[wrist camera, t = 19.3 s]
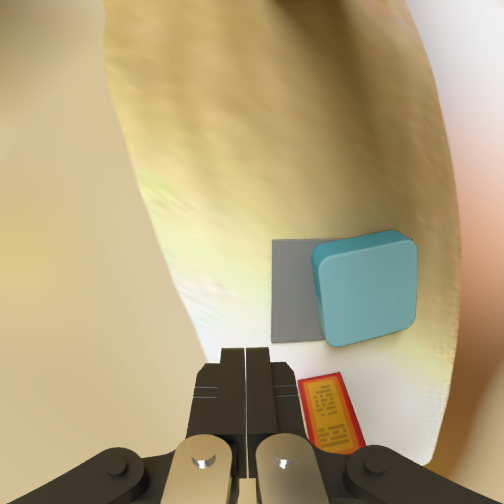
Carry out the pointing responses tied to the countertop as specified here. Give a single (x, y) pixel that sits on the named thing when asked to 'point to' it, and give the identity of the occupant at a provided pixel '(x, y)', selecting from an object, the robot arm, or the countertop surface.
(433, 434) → the countertop surface
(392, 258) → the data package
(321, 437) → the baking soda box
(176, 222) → the countertop surface
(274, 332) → the rubber mat
